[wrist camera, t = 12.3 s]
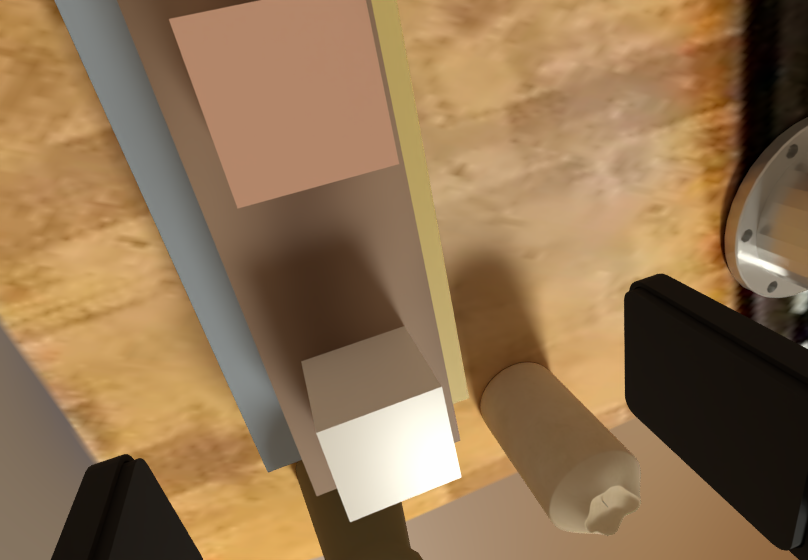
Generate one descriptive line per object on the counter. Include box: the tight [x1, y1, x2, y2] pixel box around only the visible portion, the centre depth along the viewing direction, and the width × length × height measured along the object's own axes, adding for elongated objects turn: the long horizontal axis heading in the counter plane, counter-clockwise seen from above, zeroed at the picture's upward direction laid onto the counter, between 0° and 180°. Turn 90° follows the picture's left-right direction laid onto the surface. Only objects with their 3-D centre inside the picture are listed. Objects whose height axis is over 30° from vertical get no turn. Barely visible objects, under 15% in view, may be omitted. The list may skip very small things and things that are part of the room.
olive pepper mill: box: [296, 460, 423, 560], centre depth 27 cm, size 6×6×11 cm
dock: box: [55, 0, 469, 472], centre depth 23 cm, size 11×24×4 cm, turn 12°
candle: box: [480, 362, 641, 536], centre depth 30 cm, size 6×6×10 cm
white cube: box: [301, 326, 461, 522], centre depth 18 cm, size 4×4×4 cm
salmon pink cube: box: [169, 0, 399, 208], centre depth 13 cm, size 4×4×4 cm
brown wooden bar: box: [117, 0, 460, 496], centre depth 19 cm, size 6×20×4 cm, turn 12°
